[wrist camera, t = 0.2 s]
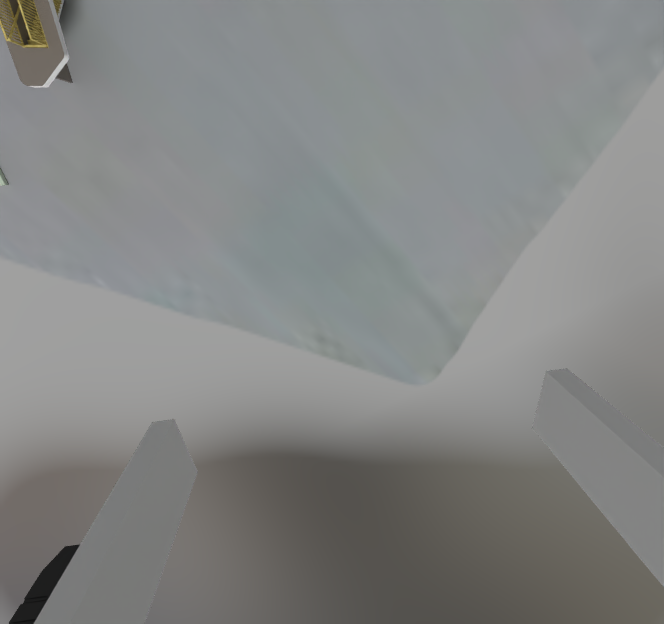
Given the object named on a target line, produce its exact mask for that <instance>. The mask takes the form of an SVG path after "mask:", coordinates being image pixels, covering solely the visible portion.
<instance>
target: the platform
mask: <svg viewBox="0 0 664 624" xmlns="http://www.w3.org/2000/svg"><path fill="white" fill-rule="evenodd" d="M63 3H64V0H0V25H1V28H2V31H3V34H4V36H5V39H6V42H7V45H8V48H9V50H10V53H11V56H12V59H13V61H14V64H15V67H16V70H17V72H18V75H19V78H20V80H21V82H22V83H23V84H25V85H27V86H30V87H49V85H50V84H51V83H52V81H53V80H54V79H55V78H57V79H60V80H63V81H66V82H69V83H73V82H72V79H71V76H70V73H69V69H68V66H67V61H68V60H69V53H68V50H67V46H66V43H65V40H64V36H63V33H62V30H61V26H60V23H59V18H60V14H61V11H62V7H63Z"/></svg>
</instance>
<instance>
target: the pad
mask: <svg viewBox="0 0 664 624" xmlns="http://www.w3.org/2000/svg"><path fill="white" fill-rule="evenodd" d="M2 185H9V184H8V182H7V181H6V179H5V177H4V175H3V173H2V171H1V169H0V186H2Z"/></svg>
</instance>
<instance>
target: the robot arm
mask: <svg viewBox="0 0 664 624" xmlns="http://www.w3.org/2000/svg"><path fill="white" fill-rule="evenodd" d="M532 428H533V430H534V431H535V432H536V433H537V434H538V436H539V437H540V438H541V439H542V440H543V441H544V443H545V444H546V445H547V447H548V448H549V449H550V450H551V451H552V452H553V454H554V455H555V456H556V457H557V459H558V460H559V461H560V462H561V463H562V465H564V467H565V468H566V470H567V471H568V472H569V473H570V474H571V476H572V477H573V478H574V479H575V480H576V481H577V483H578V484H579V485H580V486H581V488H582V489H583V490H584V491H585V492H586V494H587V495H588V496H589V497H590V499H591V500H592V501H593V502H594V503H595V505H596V506H597V507H598V508H599V509H600V511H601V512H602V513H603V514H604V515H605V516H606V518H607V519H608V520H609V521H610V523H611V524H612V525H613V526H614V527H615V529H616V530H617V531H618V532H619V534H620V535H621V536H622V537H623V538H624V540H625V541H626V542H627V543H628V545H629V546H630V547H631V548H632V549H633V550H634V552H635V553H636V554H637V555H638V557H639V558H640V559H641V560H642V561H643V563H644V564H645V565H646V566H647V568H648V569H649V570H650V571H651V572H652V573H653V575H654V576H655V577H656V578H657V580H658V581H659V582H660V583H661V584H662V586H663V587H664V447H663V446H662V445H660V444H659V443H658V442H657V441H655V440H654V439H653V438H652V437H651V436H649V435H648V434H647V433H646V432H644V431H643V430H642V429H641V428H639V427H638V426H637V425H636V424H635V423H633V422H632V421H631V420H630V419H628V418H627V417H626V416H625V415H624V414H622V413H621V412H620V411H619V410H617V409H616V408H615V407H614V406H613V405H611V404H610V403H609V402H608V401H606V400H605V399H604V398H603V397H602V396H600V395H599V394H598V393H596V392H595V391H594V390H593V389H592V388H591V387H589V386H588V385H587V384H586V383H584V382H583V381H582V380H581V379H579V378H578V377H577V376H576V375H575V374H573V373H572V372H571V371H570V370H568V369H559V370H551V371H546V373H545V377H544V381H543V385H542V389H541V393H540V397H539V401H538V406H537V410H536V414H535V418H534V422H533V427H532ZM197 473H198V471H197V469H196V467H195V465H194V462H193V460H192V458H191V456H190V454H189V451H188V449H187V447H186V445H185V442H184V440H183V438H182V435H181V433H180V431H179V429H178V426H177V424H176V422H175V420H174V419H172V420H164V421H157V422H152V424H151V425H150V427H149V429H148V430H147V432H146V434H145V435H144V437H143V439H142V440H141V442H140V444H139V446H138V447H137V449H136V451H135V452H134V454H133V456H132V458H131V459H130V461H129V463H128V464H127V466H126V468H125V469H124V471H123V473H122V474H121V476H120V478H119V480H118V481H117V483H116V485H115V486H114V488H113V490H112V491H111V493H110V495H109V497H108V499H107V500H106V502H105V503H104V505H103V507H102V509H101V510H100V512H99V514H98V515H97V517H96V519H95V520H94V522H93V524H92V525H91V527H90V529H89V531H88V532H87V534H86V536H85V537H84V539H83V541H82V543H81V544H80V545H73V546H66V547H64V548H63V549H62V550H61V551H60V553H59V554H58V555H57V556H56V557H55V558H54V559H53V560H52V561H51V562H50V563H49V564H48V565H47V566H46V567H45V569H43V571H42V572H41V573H40V575H39V577H38V578H37V580H36V581H35V583H34V584H33V586H32V587H31V589H30V591H29V592H28V594H27V595H26V597H25V601H24V603H23V604H21V605H20V606H19V608H18V609H17V611H16V612H15V614H14V616H13V617H12V619H11V620H10V622H9V624H145V621H146V618H147V615H148V612H149V609H150V607H151V604H152V601H153V598H154V595H155V592H156V589H157V586H158V584H159V581H160V578H161V575H162V572H163V569H164V566H165V564H166V561H167V558H168V555H169V552H170V550H171V547H172V544H173V541H174V538H175V535H176V532H177V530H178V526H179V524H180V521H181V518H182V515H183V512H184V509H185V507H186V504H187V501H188V498H189V495H190V492H191V490H192V487H193V484H194V481H195V478H196V475H197Z"/></svg>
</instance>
